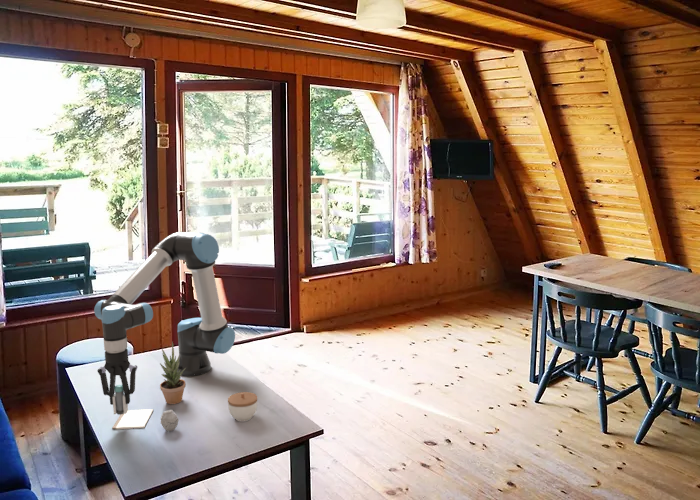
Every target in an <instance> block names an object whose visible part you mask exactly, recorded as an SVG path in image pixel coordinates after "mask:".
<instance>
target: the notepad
mask: <svg viewBox="0 0 700 500" xmlns="http://www.w3.org/2000/svg"><path fill="white" fill-rule="evenodd" d="M153 412H154V409H153V408H151V409H149V408H147V409H146V408H145V409H130V410H129V409H128V411H127V413H126V414H121V415H119V416H118V418H117V420H116V421H115V423H114V424H113V426H112V427H111V429H114V430H130V429H133V428H134V429H145V427H146V426H147V424H148V422H149V420H150V418H151V416H152V414H153Z"/></svg>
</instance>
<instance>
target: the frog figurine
mask: <svg viewBox="0 0 700 500" xmlns="http://www.w3.org/2000/svg"><path fill="white" fill-rule="evenodd" d="M160 424H161V426H162V428H163V429H164V430H165V431H167V432H173V431H174V430H176V428H178V427H177V426H178V424H179V418H178V415H177V414H176V413H175V412H174V410H173V409H168V410H165V411H163V412H162V414H161V415H160Z"/></svg>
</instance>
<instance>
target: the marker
mask: <svg viewBox="0 0 700 500" xmlns="http://www.w3.org/2000/svg"><path fill="white" fill-rule="evenodd" d="M114 394H115V396H116V408H117V413H116V414H117V416H118V415H119V416H120V415H121V414H124V409H123V395H124V390H123V386H122V384H118V385H117V384H116V385H115V393H114Z"/></svg>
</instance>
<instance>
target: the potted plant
mask: <svg viewBox="0 0 700 500" xmlns="http://www.w3.org/2000/svg"><path fill="white" fill-rule="evenodd" d="M173 342H174V341H172V342H171V355H169V358H168V356H167V354H166V352H165V350H164V349H163V348H161V351H162V353H161V354H162V358H163V360H164V362H163V363H164V365H163V364H162V363H159V365H160V367H161V369H162V370H163V372H164V373H162V374H161V376H162V377H164V378H165V379H164V380H163V381H162V382H161V383H160V384H159V387H160V388H159V389H160V391H161V392H162V395H163V397H164V400H165V403H166V404H169V405H175V404H179V403H181V402H182V401H183V396H184V391H185V389H186V381H185V380H184V379H181V377H182V376H183V375H182V373H183V371H184V370H185V369H186V368H185V369H184V370H183V371H182V372H180V370H179V371H178V372H177V370H178V367H179V362H178V361H179V357H178V356H177V355H175V348H174V343H173ZM179 372H180V373H179Z"/></svg>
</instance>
